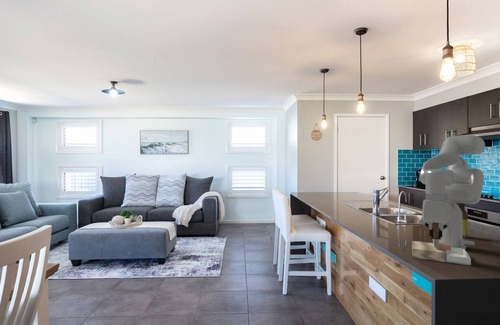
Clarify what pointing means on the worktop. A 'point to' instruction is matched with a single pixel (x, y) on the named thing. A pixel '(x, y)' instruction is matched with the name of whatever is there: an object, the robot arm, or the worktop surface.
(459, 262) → the box
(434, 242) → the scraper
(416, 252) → the board
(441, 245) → the block
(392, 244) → the worktop surface
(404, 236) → the worktop surface
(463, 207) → the sauce bottle
